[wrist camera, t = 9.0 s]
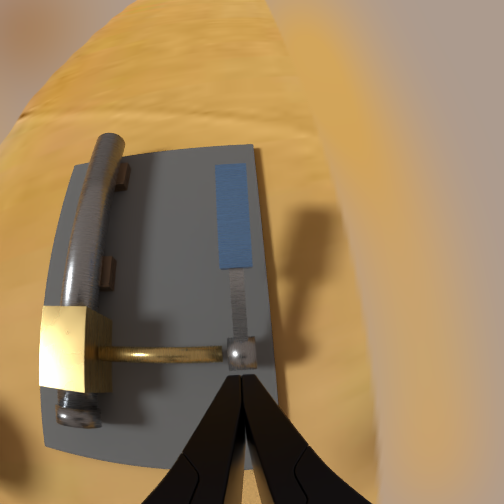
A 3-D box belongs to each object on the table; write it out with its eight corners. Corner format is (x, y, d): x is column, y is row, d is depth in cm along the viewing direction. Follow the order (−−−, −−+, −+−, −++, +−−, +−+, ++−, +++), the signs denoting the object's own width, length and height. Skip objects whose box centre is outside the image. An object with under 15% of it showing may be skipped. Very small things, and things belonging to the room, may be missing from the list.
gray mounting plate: (282, 464, 16) (283, 466, 15) (49, 445, 15) (44, 446, 15) (252, 148, 27) (252, 144, 26) (77, 169, 26) (74, 165, 25)
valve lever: (259, 373, 16) (245, 163, 17) (227, 375, 16) (214, 164, 17) (257, 364, 18) (245, 174, 19) (228, 365, 18) (217, 176, 19)
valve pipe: (230, 429, 16) (225, 442, 13) (72, 418, 16) (41, 421, 12) (217, 146, 26) (214, 113, 22) (101, 160, 25) (86, 132, 22)
